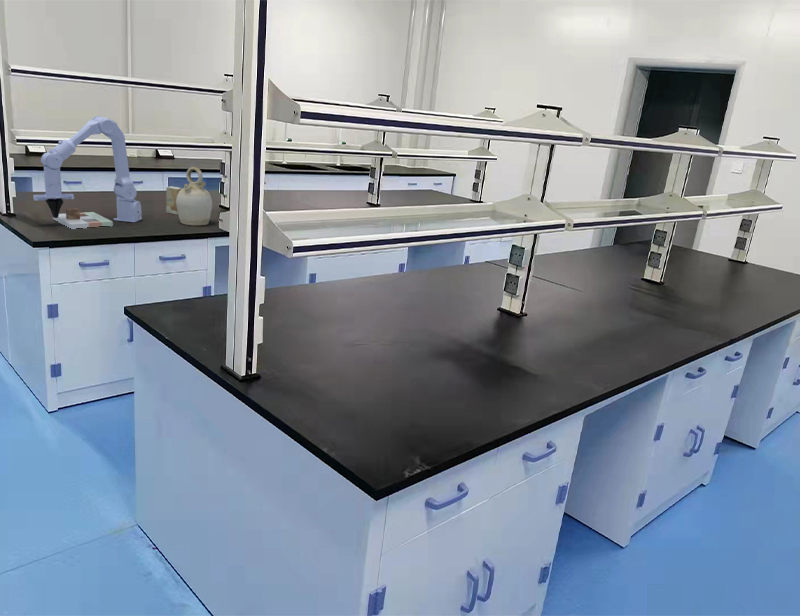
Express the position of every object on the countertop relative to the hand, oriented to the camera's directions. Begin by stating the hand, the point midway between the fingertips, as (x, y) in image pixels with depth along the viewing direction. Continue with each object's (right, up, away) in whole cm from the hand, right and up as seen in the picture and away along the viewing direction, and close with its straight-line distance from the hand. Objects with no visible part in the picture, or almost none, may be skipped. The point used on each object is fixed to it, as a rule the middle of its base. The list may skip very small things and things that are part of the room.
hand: (55, 217), depth 255 cm
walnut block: (+5, 0, +5) cm, 7 cm away
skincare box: (+33, +8, +44) cm, 55 cm away
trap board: (+7, -1, +9) cm, 12 cm away
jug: (+47, +2, +29) cm, 55 cm away
